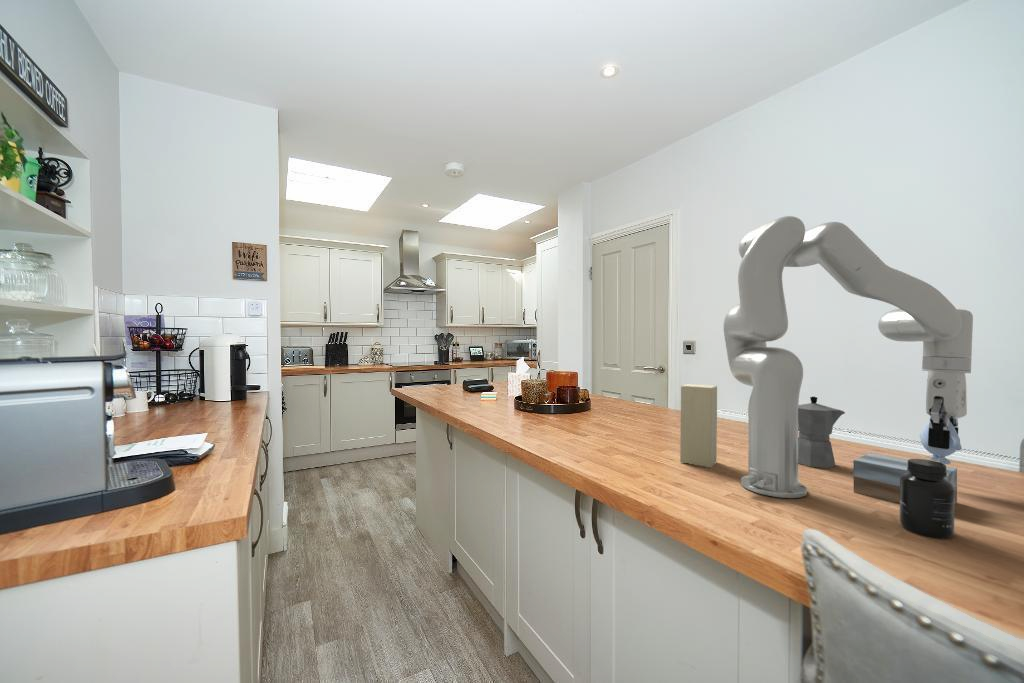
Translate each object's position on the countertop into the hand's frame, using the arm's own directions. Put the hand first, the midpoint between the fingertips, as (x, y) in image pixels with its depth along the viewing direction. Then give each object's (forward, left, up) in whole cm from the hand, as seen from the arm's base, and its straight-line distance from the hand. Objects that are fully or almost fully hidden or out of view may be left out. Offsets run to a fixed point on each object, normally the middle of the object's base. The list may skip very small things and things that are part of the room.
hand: (943, 445), depth 93 cm
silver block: (-13, +3, -10) cm, 17 cm away
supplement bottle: (-30, -4, -10) cm, 32 cm away
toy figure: (0, +1, -4) cm, 4 cm away
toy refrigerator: (-25, +42, -10) cm, 50 cm away
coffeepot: (-1, +25, -10) cm, 27 cm away
